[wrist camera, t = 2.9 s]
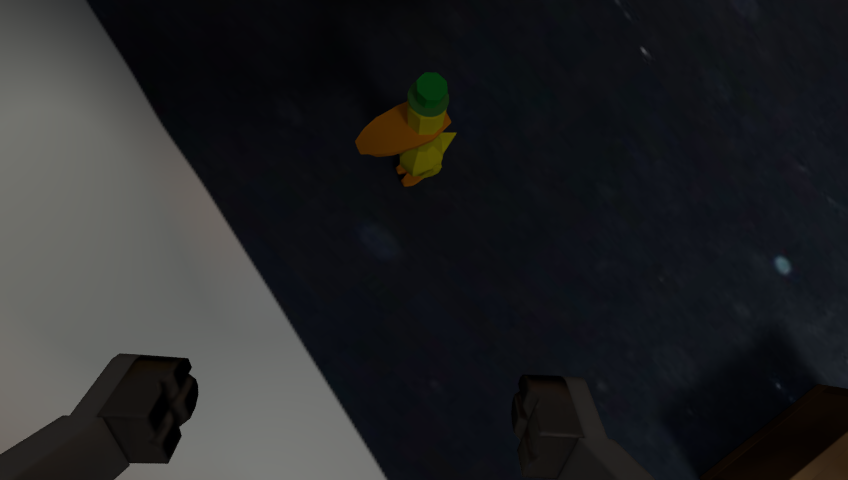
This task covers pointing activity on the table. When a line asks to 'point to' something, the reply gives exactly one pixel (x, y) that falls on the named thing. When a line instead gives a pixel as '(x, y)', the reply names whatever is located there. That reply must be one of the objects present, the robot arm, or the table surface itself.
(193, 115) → the table surface
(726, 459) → the open wooden box
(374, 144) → the toy figure
